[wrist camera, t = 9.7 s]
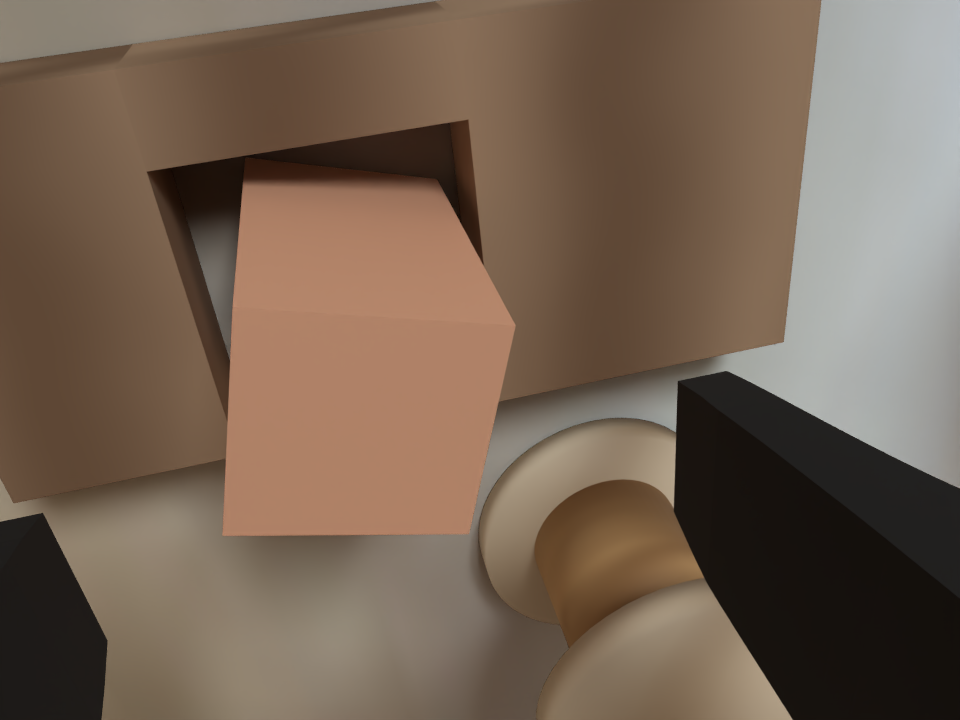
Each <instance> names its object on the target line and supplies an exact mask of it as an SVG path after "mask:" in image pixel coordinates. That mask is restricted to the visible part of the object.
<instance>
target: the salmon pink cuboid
mask: <svg viewBox="0 0 960 720" xmlns="http://www.w3.org/2000/svg"><path fill="white" fill-rule="evenodd" d="M515 327H516V325H515V323H514V321H513V320H512V318H511V316H510V314H509V312H508V310H507V308H506V307H505V305H504V303H503V301H502V299H501V297H500V295H499V294H498V292H497V290H496V288H495V286H494V284H493V282H492V281H491V279H490V277H489V275H488V273H487V271H486V269H485V268H484V266H483V264H482V262H481V260H480V258H479V256H478V255H477V253H476V251H475V249H474V247H473V245H472V243H471V242H470V240H469V238H468V236H467V234H466V232H465V230H464V229H463V227H462V225H461V223H460V221H459V219H458V217H457V216H456V214H455V212H454V210H453V208H452V206H451V204H450V203H449V201H448V199H447V197H446V195H445V193H444V191H443V190H442V188H441V186H440V184H439V182H438V180H437V179H432V178H423V177H414V176H406V175H397V174H388V173H379V172H370V171H361V170H352V169H343V168H334V167H325V166H317V165H308V164H299V163H290V162H281V161H272V160H263V159H254V158H245V166H244V178H243V190H242V201H241V213H240V225H239V237H238V249H237V261H236V272H235V284H234V296H233V309H232V332H231V355H230V378H229V401H228V424H227V447H226V470H225V493H224V515H223V536H279V535H414V534H469V531H470V527H471V523H472V518H473V514H474V509H475V505H476V500H477V496H478V491H479V487H480V483H481V478H482V474H483V469H484V465H485V460H486V456H487V451H488V447H489V442H490V438H491V434H492V429H493V425H494V420H495V416H496V411H497V407H498V402H499V398H500V393H501V389H502V385H503V380H504V376H505V371H506V367H507V362H508V358H509V353H510V349H511V345H512V340H513V336H514V331H515Z"/></svg>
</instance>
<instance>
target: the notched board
mask: <svg viewBox="0 0 960 720" xmlns="http://www.w3.org/2000/svg"><path fill="white" fill-rule="evenodd" d="M820 8H821V0H441V1H434V2H427V3H420V4H413V5H406V6H399V7H392V8H385V9H378V10H371V11H364V12H357V13H350V14H343V15H336V16H329V17H322V18H315V19H308V20H300V21H293V22H286V23H279V24H272V25H265V26H258V27H251V28H244V29H237V30H230V31H223V32H216V33H209V34H202V35H195V36H188V37H181V38H174V39H167V40H160V41H153V42H146V43H139V44H131V45H124V46H117V47H110V48H103V49H96V50H89V51H82V52H75V53H68V54H61V55H54V56H47V57H40V58H33V59H26V60H19V61H12V62H5V63H0V478H1V480H2V482H3V484H4V486H5V488H6V490H7V492H8V493H9V495H10V497H11V499H12V501H13V503H18V502H22V501H27V500H32V499H37V498H41V497H46V496H51V495H56V494H61V493H65V492H70V491H75V490H80V489H84V488H89V487H94V486H99V485H104V484H108V483H113V482H118V481H123V480H127V479H132V478H137V477H142V476H147V475H151V474H156V473H161V472H166V471H170V470H175V469H180V468H185V467H189V466H194V465H199V464H204V463H209V462H213V461H218V460H223V459H226V447H227V424H228V401H229V378H230V360H229V357H228V354H227V350H226V347H225V344H224V341H223V337H222V334H221V331H220V327H219V324H218V321H217V318H216V314H215V311H214V308H213V305H212V301H211V298H210V295H209V291H208V288H207V285H206V282H205V278H204V275H203V272H202V269H201V265H200V262H199V259H198V255H197V252H196V249H195V246H194V242H193V239H192V236H191V233H190V229H189V226H188V223H187V219H186V216H185V213H184V210H183V206H182V203H181V200H180V197H179V193H178V190H177V187H176V183H175V180H174V177H173V174H172V170H171V168H172V167H178V166H184V165H191V164H197V163H203V162H209V161H215V160H221V159H228V158H234V157H240V156H246V155H252V154H258V153H265V152H271V151H277V150H283V149H289V148H295V147H302V146H308V145H314V144H320V143H326V142H332V141H339V140H345V139H351V138H357V137H363V136H369V135H376V134H382V133H388V132H394V131H400V130H406V129H413V128H419V127H425V126H431V125H437V124H443V123H450V131H451V140H452V148H453V156H454V165H455V173H456V182H457V190H458V199H459V207H460V215H461V224H462V227H463V229H464V230H465V232H466V234H467V236H468V238H469V240H470V242H471V243H472V245H473V247H474V249H475V251H476V253H477V255H478V256H479V258H480V260H481V262H482V264H483V266H484V268H485V269H486V271H487V273H488V275H489V277H490V279H491V281H492V282H493V284H494V286H495V288H496V290H497V292H498V294H499V295H500V297H501V299H502V301H503V303H504V305H505V307H506V308H507V310H508V312H509V314H510V316H511V318H512V320H513V321H514V323H515V325H516V327H515V331H514V336H513V340H512V345H511V349H510V353H509V358H508V362H507V367H506V371H505V376H504V380H503V385H502V389H501V393H500V398H499V402H500V401H505V400H509V399H514V398H519V397H524V396H528V395H533V394H538V393H543V392H548V391H552V390H557V389H562V388H567V387H571V386H576V385H581V384H586V383H590V382H595V381H600V380H605V379H610V378H614V377H619V376H624V375H629V374H633V373H638V372H643V371H648V370H653V369H657V368H662V367H667V366H672V365H676V364H681V363H686V362H691V361H696V360H700V359H705V358H710V357H715V356H719V355H724V354H729V353H734V352H738V351H743V350H748V349H753V348H758V347H762V346H767V345H772V344H777V343H781V342H784V334H785V325H786V316H787V307H788V298H789V289H790V280H791V271H792V261H793V252H794V243H795V234H796V225H797V216H798V207H799V198H800V189H801V180H802V171H803V162H804V153H805V144H806V135H807V126H808V117H809V107H810V98H811V89H812V80H813V71H814V62H815V53H816V44H817V35H818V26H819V17H820Z"/></svg>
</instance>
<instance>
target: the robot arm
mask: <svg viewBox="0 0 960 720" xmlns="http://www.w3.org/2000/svg"><path fill="white" fill-rule="evenodd" d="M674 514H675V516H676V518H677V520H678V522H679V525H680V527H681V529H682V531H683V534H684V536H685V538H686V540H687V543H688V545H689V547H690V549H691V551H692V553H693V556H694V558H695V560H696V562H697V564H698V566H699V568H700V570H701V572H702V574H703V576H704V578H705V580H706V583H707V584H708V586H709V588H710V589H711V591H712V593H713V594H714V596H715V598H716V599H717V601H718V602H719V604H720V606H721V607H722V609H723V610H724V612H725V614H726V615H727V617H728V618H729V620H730V622H731V623H732V625H733V626H734V628H735V630H736V631H737V633H738V634H739V636H740V638H741V639H742V641H743V642H744V644H745V646H746V647H747V649H748V650H749V652H750V653H751V655H752V657H753V658H754V660H755V661H756V663H757V664H758V666H759V668H760V669H761V671H762V672H763V674H764V675H765V677H766V679H767V680H768V682H769V683H770V685H771V686H772V688H773V690H774V691H775V693H776V694H777V696H778V697H779V699H780V701H781V702H782V704H783V705H784V707H785V708H786V710H787V712H788V713H789V715H790V716H791V718H792V719H793V720H960V489H959V488H957V487H955V486H953V485H951V484H948V483H946V482H944V481H942V480H939V479H937V478H935V477H933V476H931V475H929V474H927V473H925V472H923V471H921V470H919V469H917V468H914V467H912V466H910V465H908V464H906V463H904V462H902V461H900V460H898V459H896V458H894V457H892V456H890V455H888V454H886V453H884V452H882V451H880V450H878V449H876V448H874V447H872V446H870V445H868V444H866V443H864V442H863V441H861V440H859V439H857V438H855V437H853V436H851V435H849V434H847V433H845V432H843V431H841V430H839V429H838V428H836V427H834V426H832V425H830V424H828V423H826V422H824V421H822V420H821V419H819V418H817V417H815V416H813V415H811V414H809V413H807V412H806V411H804V410H802V409H800V408H798V407H796V406H794V405H792V404H791V403H789V402H787V401H785V400H783V399H781V398H779V397H777V396H776V395H774V394H772V393H770V392H768V391H766V390H764V389H762V388H760V387H758V386H756V385H754V384H753V383H751V382H749V381H747V380H745V379H743V378H740V377H738V376H736V375H734V374H732V373H730V372H727V371H724V372H720V373H715V374H710V375H705V376H700V377H696V378H691V379H686V380H681V381H678V395H677V424H676V454H675V484H674ZM106 656H107V639H106V637H105V635H104V633H103V631H102V629H101V627H100V625H99V623H98V621H97V619H96V617H95V615H94V613H93V611H92V609H91V607H90V605H89V603H88V601H87V599H86V597H85V595H84V593H83V591H82V589H81V587H80V585H79V583H78V581H77V580H76V578H75V576H74V574H73V572H72V570H71V568H70V566H69V564H68V562H67V560H66V558H65V556H64V554H63V552H62V550H61V548H60V546H59V544H58V542H57V540H56V538H55V536H54V534H53V532H52V530H51V528H50V526H49V524H48V522H47V520H46V518H45V516H44V514H43V513H41V514H36V515H31V516H26V517H21V518H17V519H12V520H7V521H2V522H0V720H101V718H102V708H103V697H104V686H105V671H106Z"/></svg>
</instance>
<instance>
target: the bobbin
mask: <svg viewBox="0 0 960 720" xmlns="http://www.w3.org/2000/svg"><path fill="white" fill-rule="evenodd" d="M675 454H676V432H674V431H672V430H670V429H668V428H666V427H665V426H662V425H659V424H656V423H654V422H650V421H645V420H640V419H632V418H608V419H601V420H595V421H590V422H586V423H582V424H579V425H575V426H572V427H570V428H567V429H565V430H562V431H559V432H558V433H556V434H554V435H552V436H550V437H548V438H546V439H544V440H542V441H541V442H539V443H538V444H536V445H535V446H533V447H531V448H530V449H529V450H528V451H526V452H525V453H524V454H523V455H521V456H520V457H519V458H518V459H517V460H516V461H515V462H514V463H513V464H512V465H511V466H510V467H509V468H508V469H507V470H506V471H505V472H504V473H503V475H502V476H501V477H500V478H499V480H498V481H497V482H496V484H495V486H494V487H493V489H492V490H491V492H490V494H489V496H488V498H487V500H486V503H485V505H484V508H483V511H482V515H481V518H480V526H479V544H480V548H481V552H482V556H483V559H484V563H485V566H486V569H487V572H488V575H489V578H490V580H491V583H492V585H493V587H494V589H495V590H496V592H497V593H498V595H499V596H500V597H501V598H502V600H503V601H504V602H505V603H506V604H507V605H509V606H510V607H511V608H513V609H514V610H515V611H517V612H519V613H521V614H522V615H524V616H526V617H529V618H531V619H534V620H537V621H540V622H545V623H550V624H557V625H561V628H562V631H563V633H564V636H565V638H566V641H567V644H568V646H569V649H568V650H567V651H566V652H565V654H564V655H563V656H562V657H561V658H560V660H559V661H558V663H557V664H556V665H555V667H554V668H553V669H552V671H551V673H550V675H549V676H548V678H547V680H546V682H545V684H544V686H543V689H542V691H541V694H540V697H539V700H538V706H537V711H536V720H793V719H792V718H791V716H790V715H789V713H788V712H787V710H786V708H785V707H784V705H783V704H782V702H781V701H780V699H779V697H778V696H777V694H776V693H775V691H774V690H773V688H772V686H771V685H770V683H769V682H768V680H767V679H766V677H765V675H764V674H763V672H762V671H761V669H760V668H759V666H758V664H757V663H756V661H755V660H754V658H753V657H752V655H751V653H750V652H749V650H748V649H747V647H746V646H745V644H744V642H743V641H742V639H741V638H740V636H739V634H738V633H737V631H736V630H735V628H734V626H733V625H732V623H731V622H730V620H729V618H728V617H727V615H726V614H725V612H724V610H723V609H722V607H721V606H720V604H719V602H718V601H717V599H716V598H715V596H714V594H713V593H712V591H711V589H710V588H709V586H708V584H707V583H706V580H705V578H704V576H703V574H702V572H701V570H700V568H699V566H698V564H697V562H696V560H695V558H694V556H693V553H692V551H691V549H690V547H689V545H688V543H687V540H686V538H685V536H684V534H683V531H682V529H681V527H680V525H679V522H678V520H677V518H676V516H675V514H674V484H675Z"/></svg>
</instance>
